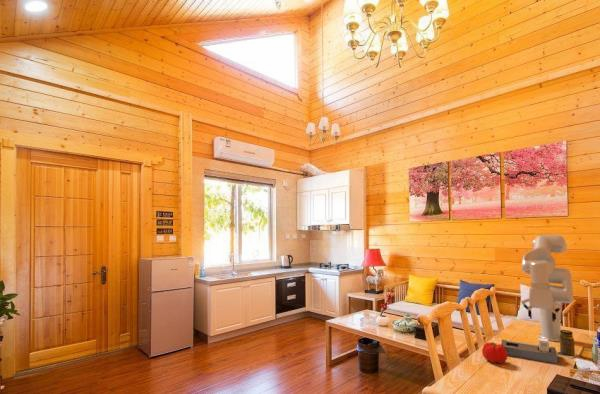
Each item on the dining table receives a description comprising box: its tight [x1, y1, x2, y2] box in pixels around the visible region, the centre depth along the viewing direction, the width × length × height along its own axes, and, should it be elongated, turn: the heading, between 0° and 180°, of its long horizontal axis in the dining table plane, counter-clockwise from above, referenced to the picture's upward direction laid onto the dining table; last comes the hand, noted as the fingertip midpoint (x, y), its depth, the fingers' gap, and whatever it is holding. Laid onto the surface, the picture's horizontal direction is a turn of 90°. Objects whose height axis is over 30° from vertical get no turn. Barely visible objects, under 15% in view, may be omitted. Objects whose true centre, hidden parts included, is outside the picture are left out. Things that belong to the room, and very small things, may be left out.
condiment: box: [556, 329, 579, 359], centre depth 180 cm, size 7×8×12 cm
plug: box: [538, 337, 550, 352], centre depth 175 cm, size 5×4×9 cm
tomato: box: [481, 341, 508, 364], centre depth 170 cm, size 11×11×9 cm
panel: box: [500, 339, 559, 365], centre depth 179 cm, size 14×24×4 cm, turn 57°
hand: (542, 319), depth 176 cm, fingers open, 9 cm apart
